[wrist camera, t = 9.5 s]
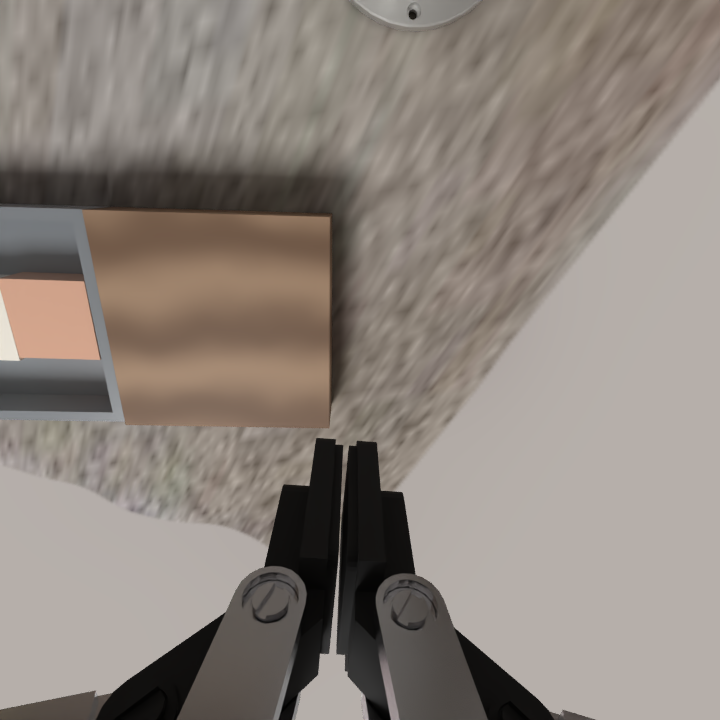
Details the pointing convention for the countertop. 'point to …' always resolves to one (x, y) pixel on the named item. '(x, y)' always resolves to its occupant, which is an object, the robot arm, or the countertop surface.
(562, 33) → the countertop surface
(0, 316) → the cream tile
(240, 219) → the walnut board
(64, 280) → the terracotta tile
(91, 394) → the tray
